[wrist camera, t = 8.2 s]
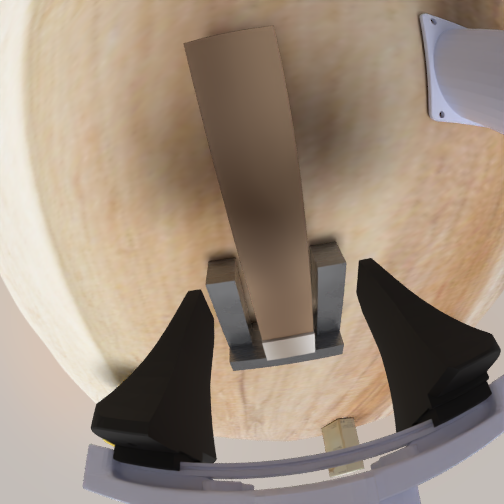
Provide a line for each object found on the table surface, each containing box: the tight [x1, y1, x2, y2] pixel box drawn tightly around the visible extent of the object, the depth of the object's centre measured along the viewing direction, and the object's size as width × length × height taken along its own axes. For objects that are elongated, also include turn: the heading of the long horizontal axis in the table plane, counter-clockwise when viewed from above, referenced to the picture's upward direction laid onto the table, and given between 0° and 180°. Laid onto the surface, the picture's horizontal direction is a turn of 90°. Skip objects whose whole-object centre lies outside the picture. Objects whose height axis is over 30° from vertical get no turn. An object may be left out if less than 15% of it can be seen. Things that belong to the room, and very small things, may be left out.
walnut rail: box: [184, 26, 315, 361], centre depth 15 cm, size 4×20×5 cm, turn 11°
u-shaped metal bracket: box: [206, 242, 346, 371], centre depth 21 cm, size 10×9×4 cm
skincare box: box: [322, 418, 364, 477], centre depth 41 cm, size 6×4×12 cm
